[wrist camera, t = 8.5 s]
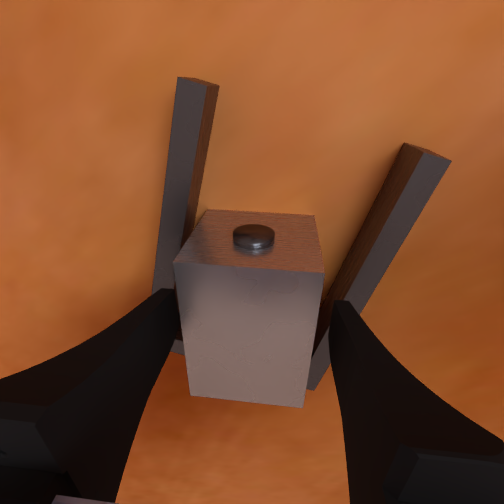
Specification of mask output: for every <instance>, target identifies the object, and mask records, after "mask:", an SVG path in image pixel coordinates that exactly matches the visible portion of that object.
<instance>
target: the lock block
mask: <svg viewBox="0 0 504 504" xmlns="http://www.w3.org/2000/svg"><path fill="white" fill-rule="evenodd" d="M173 266H174V274H175V281H176V289H177V297H178V304H179V312H180V320H181V327H182V335H183V343H184V350H185V358H186V366H187V373H188V381H189V389H190V395H191V396H200V397H209V398H217V399H226V400H235V401H244V402H253V403H261V404H270V405H279V406H288V407H297V408H303V404H304V398H305V392H306V386H307V380H308V374H309V368H310V362H311V356H312V350H313V344H314V337H315V331H316V325H317V319H318V313H319V307H320V301H321V295H322V289H323V283H324V277H325V270H324V265H323V259H322V254H321V249H320V243H319V238H318V233H317V227H316V222H315V217H314V215H302V214H285V213H267V212H250V211H233V210H216V209H207V211H206V212H205V214H204V215H203V217H202V219H201V220H200V222H199V223H198V225H197V226H196V228H195V229H194V231H193V232H192V234H191V235H190V237H189V238H188V240H187V241H186V243H185V244H184V246H183V247H182V249H181V250H180V252H179V253H178V255H177V256H176V258H175V260H174V261H173Z"/></svg>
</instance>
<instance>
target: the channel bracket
mask: <svg viewBox="0 0 504 504" xmlns="http://www.w3.org/2000/svg"><path fill="white" fill-rule="evenodd" d="M218 91H219V85H216V84H212V83H209V82H206V81H203V80H199V79H196V78H187V77H178V78H177V86H176V94H175V103H174V111H173V119H172V128H171V136H170V145H169V153H168V161H167V170H166V178H165V186H164V195H163V203H162V212H161V220H160V228H159V237H158V245H157V253H156V262H155V270H154V278H153V287H152V295H153V294H154V293H155V292H157V291H158V290H159V289H161V288H168V289H175V296H176V302H177V309H178V308H179V304H178V297H177V289H176V281H175V274H174V266H173V261H174V260H175V258H176V256H177V255H178V253H179V252H180V250H181V249H182V247H183V246H184V244H185V243H186V241H187V240H188V238H189V237H190V235H191V234H192V232H193V227H194V221H195V216H196V210H197V205H198V199H199V194H200V189H201V183H202V178H203V172H204V167H205V161H206V156H207V150H208V145H209V140H210V134H211V129H212V123H213V118H214V112H215V107H216V102H217V96H218ZM450 163H451V160H449V159H447V158H444V157H442V156H440V155H438V154H436V153H434V152H432V151H430V150H427V149H424V148H421V147H417V146H414V145H411V144H408V143H404V144H403V146H402V148H401V150H400V152H399V154H398V156H397V158H396V160H395V162H394V164H393V166H392V168H391V170H390V172H389V174H388V176H387V178H386V180H385V182H384V184H383V186H382V188H381V190H380V192H379V194H378V196H377V198H376V200H375V202H374V204H373V206H372V208H371V210H370V212H369V214H368V216H367V218H366V220H365V222H364V224H363V226H362V228H361V230H360V232H359V234H358V236H357V238H356V240H355V242H354V244H353V246H352V248H351V250H350V252H349V253H348V255H347V257H346V259H345V261H344V263H343V265H342V267H341V269H340V271H339V273H338V275H337V277H336V279H335V281H334V283H333V285H332V287H331V289H330V291H329V293H328V295H327V297H326V299H325V301H324V303H323V305H322V307H321V309H320V311H319V313H318V319H317V325H316V331H315V337H314V344H313V350H312V356H311V362H310V368H309V374H308V380H307V386H306V389H309V390H313V391H314V390H315V388H316V387H317V385H318V383H319V382H320V380H321V378H322V377H323V375H324V373H325V372H326V370H327V368H328V367H329V365H330V363H331V361H330V354H329V342H328V333H329V327H330V321H331V315H332V309H333V303H334V300H345V301H349V302H350V303H351V304H352V305H353V307H354V308H355V310H356V311H357V312H358V314H359V315H360V313H361V312H362V310H363V308H364V307H365V305H366V303H367V302H368V300H369V298H370V297H371V295H372V293H373V292H374V290H375V288H376V287H377V285H378V283H379V282H380V280H381V278H382V277H383V275H384V273H385V272H386V270H387V268H388V267H389V265H390V263H391V262H392V260H393V258H394V257H395V255H396V253H397V252H398V250H399V248H400V247H401V245H402V243H403V242H404V240H405V238H406V237H407V235H408V233H409V232H410V230H411V228H412V227H413V225H414V223H415V222H416V220H417V218H418V217H419V215H420V213H421V212H422V210H423V208H424V206H425V205H426V203H427V201H428V200H429V198H430V196H431V195H432V193H433V191H434V190H435V188H436V186H437V185H438V183H439V181H440V180H441V178H442V176H443V175H444V173H445V171H446V170H447V168H448V166H449V165H450ZM178 315H179V322H180V325H179V328H178V331H177V335H176V338H175V341H174V344H173V346H172V348H171V350H170V351H171V352H175V353H178V354H182V355H185V350H184V343H183V335H182V327H181V320H180V312H178Z"/></svg>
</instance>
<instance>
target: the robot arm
mask: <svg viewBox="0 0 504 504" xmlns="http://www.w3.org/2000/svg"><path fill="white" fill-rule="evenodd" d="M179 325H180V322H179V315H178V309H177V302H176V296H175V289H168V288H161V289H159V290H158V291H157V292H155V293H154V294H153V295H151V296H150V297H149V298H147V299H146V300H145V301H144V302H142V303H141V304H140V305H138V306H137V307H136V308H134V309H133V310H132V311H131V312H129V313H128V314H127V315H125V316H124V317H122V318H121V319H119V320H118V321H116V322H115V323H114V324H112V325H111V326H109V327H108V328H106V329H105V330H103V331H102V332H100V333H98V334H97V335H95V336H93V337H92V338H90V339H88V340H87V341H85V342H83V343H81V344H80V345H78V346H76V347H74V348H72V349H70V350H68V351H66V352H64V353H62V354H60V355H58V356H56V357H54V358H52V359H49V360H47V361H45V362H43V363H40V364H38V365H36V366H33V367H31V368H28V369H26V370H24V371H21V372H18V373H16V374H13V375H10V376H8V377H5V378H2V379H0V504H117V503H115V500H116V496H117V493H118V489H119V486H120V482H121V479H122V475H123V472H124V469H125V465H126V462H127V459H128V456H129V452H130V449H131V446H132V443H133V440H134V437H135V434H136V431H137V428H138V425H139V422H140V419H141V416H142V414H143V411H144V408H145V405H146V403H147V400H148V397H149V395H150V393H151V390H152V388H153V386H154V384H155V382H156V380H157V378H158V376H159V373H160V371H161V369H162V367H163V365H164V363H165V361H166V359H167V357H168V355H169V352H170V350H171V348H172V346H173V344H174V341H175V338H176V335H177V331H178V328H179ZM328 342H329V354H330V361H331V366H332V371H333V376H334V381H335V385H336V390H337V395H338V400H339V405H340V410H341V416H342V423H343V432H344V442H345V452H346V462H347V472H348V484H349V496H350V504H504V442H503V440H501V439H500V438H498V437H497V436H495V435H494V434H492V433H490V432H489V431H487V430H486V429H484V428H483V427H481V426H480V425H478V424H476V423H475V422H473V421H472V420H470V419H469V418H467V417H466V416H464V415H463V414H462V413H460V412H459V411H457V410H456V409H455V408H453V407H452V406H450V405H449V404H448V403H446V402H445V401H444V400H442V399H441V398H440V397H439V396H437V395H436V394H435V393H433V392H432V391H431V390H430V389H429V388H427V387H426V386H425V385H424V384H423V383H421V382H420V381H419V380H418V379H417V378H416V377H414V376H413V375H412V374H411V373H410V372H409V371H408V370H407V369H406V368H405V367H404V366H403V365H402V364H401V363H399V362H398V361H397V360H396V358H395V357H394V356H393V355H392V354H391V353H390V352H389V351H388V350H387V349H386V348H385V347H384V345H383V344H382V343H381V342H380V341H379V340H378V338H377V337H376V336H375V335H374V333H373V332H372V331H371V330H370V329H369V327H368V326H367V325H366V323H365V322H364V321H363V319H362V318H361V317H360V315H359V314H358V312H357V311H356V310H355V308H354V307H353V305H352V304H351V303H350V302H349V301H345V300H334V303H333V309H332V315H331V321H330V327H329V333H328Z"/></svg>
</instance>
